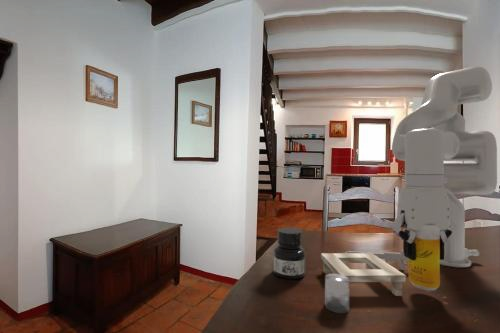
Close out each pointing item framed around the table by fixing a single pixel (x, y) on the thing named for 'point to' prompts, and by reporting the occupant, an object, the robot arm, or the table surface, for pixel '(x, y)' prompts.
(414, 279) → the beer can
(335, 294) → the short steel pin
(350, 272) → the birch stand
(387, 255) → the caliper
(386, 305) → the table surface
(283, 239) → the ink bottle
